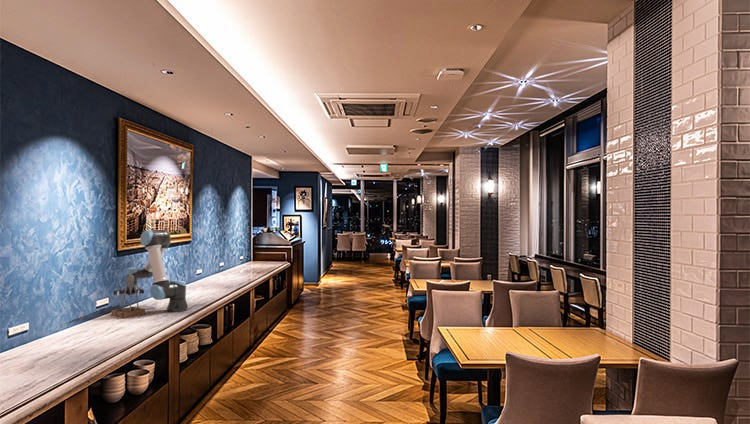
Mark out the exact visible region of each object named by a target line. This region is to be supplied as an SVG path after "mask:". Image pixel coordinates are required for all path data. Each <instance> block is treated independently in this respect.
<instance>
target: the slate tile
mask: <svg viewBox="0 0 750 424" xmlns="http://www.w3.org/2000/svg"><path fill="white" fill-rule="evenodd" d="M138 306H139V308H143V309H145V311H149V310H155V306H149V305H146V304H145V305H138Z"/></svg>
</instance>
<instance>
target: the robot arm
mask: <svg viewBox="0 0 750 424" xmlns="http://www.w3.org/2000/svg"><path fill="white" fill-rule="evenodd" d="M139 241H140V245H142V246H144V247H145V250H147V253H148V257H149V258H148V259H147V262H146V263H145V265H144V267H143V268H141V269H138V267H128V268H127V269H126V278H127V277H128V275H134V284H135V286H136V291H137V296H139V295H140V294H145V290H144V289H142V288H138V280H141V279H150V278H153V281H152V285H151V286H150V289H149V293H150V296H151V297H152V298H153V299H154V300H155V301H159V300H160V301H162V300H167V299H169V301H168V305H167V307H166V311H167V312H171V313H172V312H173V313H177V312H180V313H181V312H184V311H185V312H186V311H188V309H189V307H188V303H187V302H188V301H187V300H186V296H187V295H186V294H187V293H186V292H187V283H186V281H184V280H175V279H173V280H172V279H171V280H170V281H169V279H168V278H167V276H166V271H165V266H164V261H163V254H164V253H165V251H166V249H168V248H169V246H170V244H171V241H172V238H171V234H170V233H169V232H168V231H166V230H165V229H148V230H144V231H143V232H142V233H141V235H140V240H139ZM126 284H127V285H128V283H127V282H126ZM124 292H125V288H124V289H122V288H121V289H118V290H114V291H113V295H115V296H116V297H119V296H120V295H124ZM134 294H136V293H135V289H134V287H133V288H132V290H131V296H132V295H134ZM125 295H129V296H130V290H129V288H128V287H127V290H126V294H125Z"/></svg>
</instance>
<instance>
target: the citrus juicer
mask: <svg viewBox="0 0 750 424" xmlns="http://www.w3.org/2000/svg"><path fill="white" fill-rule="evenodd" d="M127 283H128V285H127ZM125 284H126V285H125V288H124V289H125V292H124V293H123V296H122V297H123V298H122V304H121V308H122V312H123V308H124V304H125V298H126V295H127V294H126V290H127V287H128V288H129V290H130V295H129V296H130V297H129V307H130V311H131V307H132V295H131V290H132V288H133V287H134V289H135V293H134V294H135V299H136V307H137V310H139V306H140V305H139V297H138V296H139V295H138V293H137V291H136V286H135V284H134V275H128V277H127V276H126V283H125Z"/></svg>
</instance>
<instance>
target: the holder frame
mask: <svg viewBox="0 0 750 424" xmlns="http://www.w3.org/2000/svg"><path fill="white" fill-rule="evenodd" d="M110 313H111V315H110V316H111V317H114V318H118V319H129V318H135V317H140V316H144V315H146V310H145V309H143V308H139V310H137V306H131V311H130V306H129V307H123V312H122V307H121V308H118V309H117V308H116V309H111V311H110Z"/></svg>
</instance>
